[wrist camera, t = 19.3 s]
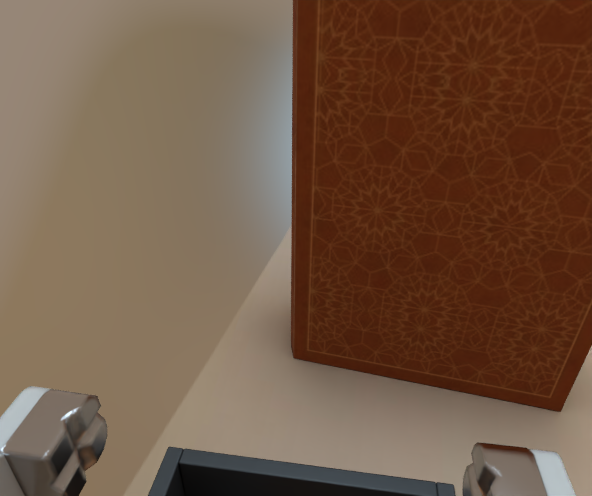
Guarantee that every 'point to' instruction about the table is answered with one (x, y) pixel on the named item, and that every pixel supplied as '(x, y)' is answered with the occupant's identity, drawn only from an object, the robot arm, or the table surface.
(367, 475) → the waste bin
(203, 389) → the table surface
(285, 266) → the table surface
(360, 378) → the table surface
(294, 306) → the book
